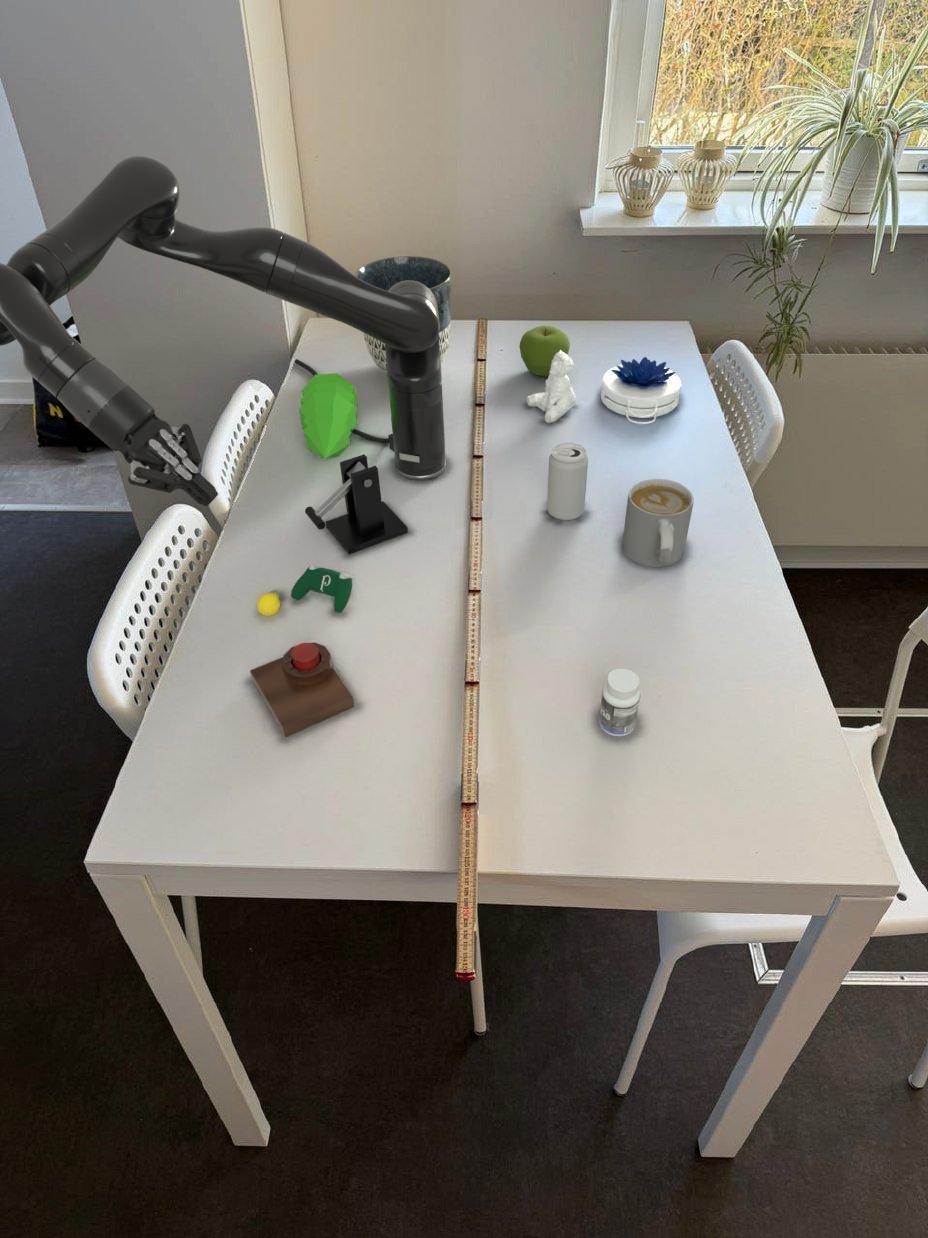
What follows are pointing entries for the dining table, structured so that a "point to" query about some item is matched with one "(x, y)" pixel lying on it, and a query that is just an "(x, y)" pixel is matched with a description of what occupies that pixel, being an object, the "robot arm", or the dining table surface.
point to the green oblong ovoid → (328, 414)
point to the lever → (332, 500)
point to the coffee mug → (657, 522)
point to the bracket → (364, 511)
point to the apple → (542, 348)
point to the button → (305, 656)
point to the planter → (413, 269)
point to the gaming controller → (324, 585)
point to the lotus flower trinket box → (641, 389)
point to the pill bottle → (619, 702)
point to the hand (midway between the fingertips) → (212, 500)
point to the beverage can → (567, 481)
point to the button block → (301, 691)
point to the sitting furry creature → (556, 389)
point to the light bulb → (269, 603)
